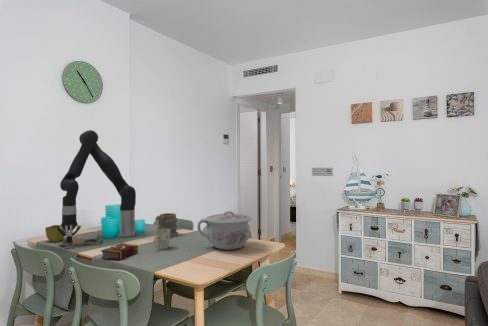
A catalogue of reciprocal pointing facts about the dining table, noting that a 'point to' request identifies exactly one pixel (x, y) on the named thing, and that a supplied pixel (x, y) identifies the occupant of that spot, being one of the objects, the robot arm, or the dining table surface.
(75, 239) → the terracotta block
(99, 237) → the lane
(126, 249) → the decorative book
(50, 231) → the flower pot
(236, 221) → the chamber pot
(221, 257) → the dining table surface
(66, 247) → the trap pads
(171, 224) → the tankard
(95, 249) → the dining table surface
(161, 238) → the mug
